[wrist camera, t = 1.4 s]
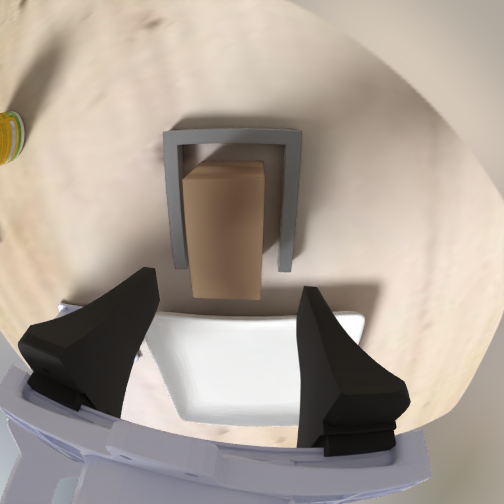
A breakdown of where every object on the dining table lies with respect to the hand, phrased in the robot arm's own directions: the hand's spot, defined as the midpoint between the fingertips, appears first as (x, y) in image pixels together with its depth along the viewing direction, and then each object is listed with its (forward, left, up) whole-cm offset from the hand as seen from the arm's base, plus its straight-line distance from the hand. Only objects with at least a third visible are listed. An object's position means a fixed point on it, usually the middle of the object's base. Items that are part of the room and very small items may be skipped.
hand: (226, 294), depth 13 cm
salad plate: (+2, -18, -11) cm, 21 cm away
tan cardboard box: (-1, +1, -10) cm, 10 cm away
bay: (-1, +1, -10) cm, 10 cm away
